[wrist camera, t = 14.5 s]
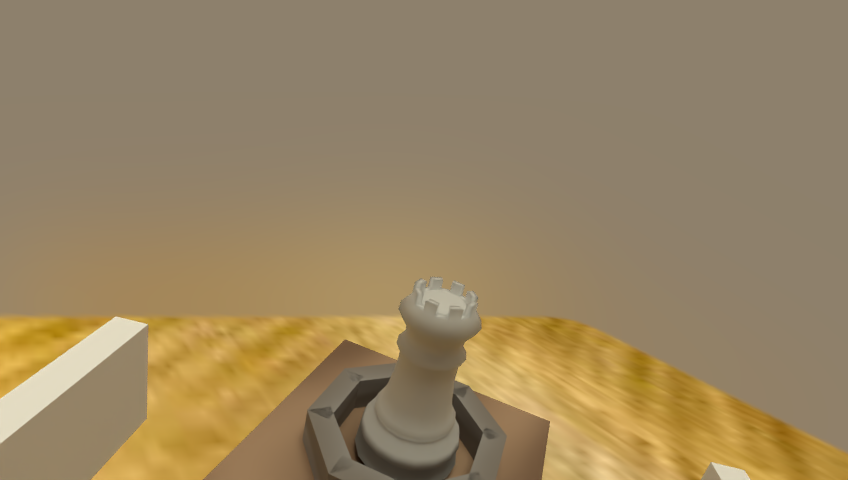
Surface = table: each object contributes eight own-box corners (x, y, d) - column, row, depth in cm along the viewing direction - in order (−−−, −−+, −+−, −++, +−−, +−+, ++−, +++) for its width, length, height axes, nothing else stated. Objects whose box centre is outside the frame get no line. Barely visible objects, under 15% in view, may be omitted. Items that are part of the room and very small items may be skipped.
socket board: (542, 439, 26) (559, 396, 25) (502, 693, 15) (529, 636, 14) (341, 356, 29) (349, 315, 28) (184, 520, 18) (188, 462, 17)
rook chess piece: (354, 411, 23) (386, 258, 20) (446, 420, 24) (489, 275, 21) (350, 492, 19) (389, 315, 16) (461, 501, 20) (517, 333, 17)
